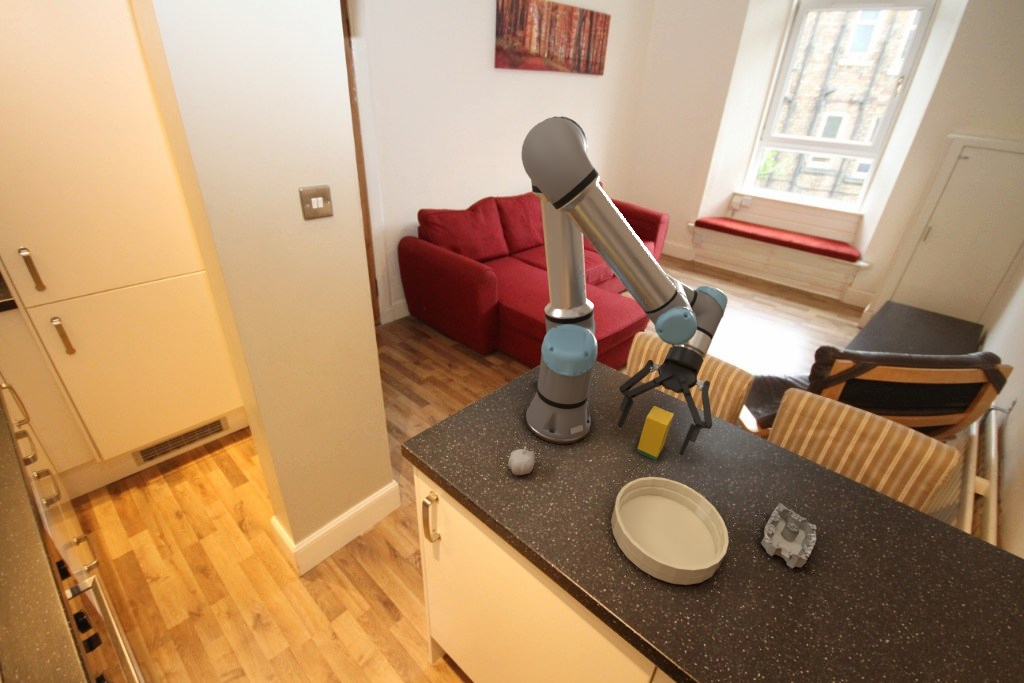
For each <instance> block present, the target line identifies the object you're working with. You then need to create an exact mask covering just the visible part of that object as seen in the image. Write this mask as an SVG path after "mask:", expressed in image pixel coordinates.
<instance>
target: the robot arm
mask: <svg viewBox="0 0 1024 683" xmlns="http://www.w3.org/2000/svg"><path fill="white" fill-rule="evenodd" d="M587 153H588V139H587V137H586V133H585V131H584V130H583V128H582V127H581V125H580V124H579V123H578V122H577V121H575V120H574V119H572V118H569V117H568V116H562V115H561V116H553V117H552V116H551V117H548V118H545V119H544V120H542V121H540V122H538V123H537V124H535V125H533V127H532V128H530V130H529V131H528V132H527V134H526V135H525V138H524V140H523V143H522V146H521V161H522V162H521V163H522V167H523V169H524V170H525V173H526V175H527V176H528V178H529V179H530V183H531V191H532V194H533V195H534V196H535V197H537V198H538V199H539V201H540V210H541V211H540V212H541V221H542V231H543V241H544V242H543V243H544V253H545V262H546V263H545V264H546V272H547V273H546V275H547V285H548V294H549V302H548V303H547V304H546V305H545V306H544V319H545V320H544V321H545V331H546V334H545V335H544V337H543V341H542V344H541V350H540V351H541V356H540V363H539V364H540V366H539V372H538V379H537V381H534V382H533V383H534V386H535V388H536V392H535V394H534V396H533V398H532V399H531V402H530V404H529V405H528V407H527V409H526V412H525V424H526V427H527V428H528V430H529V431H530V432H531V433H532V435H534V436H535V437H536V438H538V439H540V440H542V441H544V442H547V443H551V444H555V445H571V444H576V443H578V442H580V441H583V440H584V439H585V438H586V437H587V436H588V434H589V432H590V430H591V424H592V423H591V422H592V421H591V419H592V418H591V412H590V408H589V407H590V406H589V403H588V402H589V401H588V398H589V393H590V389H591V383H592V378H593V374H594V369H595V364H596V361H597V359H598V341H597V339H596V332H597V326H596V325H597V324H596V321H595V310H594V303H593V302H592V301H591V300H589V299H588V298H587V285H586V284H587V283H586V282H587V281H586V264H585V248H584V237H585V239H586V240H587V241H588V243H589V244H590V245H591V246H592V248H593V249H594V250H595V251H596V253H597V254H598V256H600V258H601V259H602V260H603V261H604V262H605V264H606V265H607V267H608V268H609V269H610V270H611V271H612V273H613V274H614V276H616V278H617V279H618V280H619V282H620V283H621V284H622V286H623V287H624V288H625V289H626V290H627V292H628V293H629V294H630V295H631V297H632V298H633V299H634V301H635V302H636V303H637V304H638V305H639V307H640V308H641V309H642V311H643V312H644V313H645V315H646V317H648V319H649V320H650V321H651V322H652V324H653V325H654V330H655V332H656V334H657V336H658V337H659V339H660V340H661V341H662V342H664V343H666V344H668V345H671V347H669V349H668V351H667V353H666V356H665V358H664V359H663V362H662V363H661V365H659V364H657V363H656V362H654V361H653V359H648V360H647V362H646V363H645V365H644V366H643V368H641V369H640V370H639V371H638V372H636V373H635V374H634V375H632V376H631V377H629V379H628V380H626V381H625V382H624V383H622V384H621V385H620V386H619V388H618V389H619V392H620V394H622V395H623V396H624V397H623V399H622V401H621V404H620V406H619V410H620V412H622V413H621V415H620V417H619V420H618V422H617V426H618V427H619V428H620V429H622V428H623V427H624V425H625V422H626V420H627V418H628V416H629V414H630V412H631V409H632V407H633V405H634V398H636V397H638V396H641V395H642V394H645V393H647V392H650V391H651V390H653V389H655V388H659V387H661V386H662V387H663V388H664V389H665V390H668V391H672V392H674V393H675V394H683V397H684V399H685V402H686V404H687V407H688V409H689V412H690V416H691V417H692V420H693V423H694V424H693V423H690V426H689V428H688V431H687V433H686V436H685V437H684V441H683V443H682V445H681V448H680V450H679V455H681V456H684V454H685V452H686V450H687V448H688V445H689V443H690V442H692V443H695V442H697V439H698V437H699V434H700V431H701V430H702V429H707V430H711V429H712V427H713V418H712V412H711V404H710V395H709V390H710V387H711V382H710V381H709V380H705V381H704V380H700V379H698V375H699V372H700V370H701V369H702V366H703V363H704V358H706V356H707V354H708V351H709V349H710V347H711V345H712V342H713V339H714V337H715V335H716V332H717V331H718V327H719V325H720V323H721V321H722V319H723V317H724V315H725V312H726V309H727V305H728V302H729V301H728V296H727V294H726V293H725V292H723V291H722V290H720V289H719V288H715V287H712V286H709V285H701V286H698V287H696V289H693V288H692V287H690V286H688V285H686V284H684V283H683V282H681V281H679V280H678V279H676V278H674V277H673V276H671V275H669V273H666V272H665V271H664V270H663V269H662V266H660V264H659V263H658V262H657V260H656V259H655V258H654V256H653V255H652V254H651V252H650V251H649V249H648V248H647V247H646V246H645V244H644V243H643V241H642V240H641V239H640V237H639V236H638V235H637V233H636V232H635V231H634V229H633V228H632V227H631V225H630V224H629V222H628V221H627V220H626V218H625V217H624V216H623V214H622V213H621V212H620V211H619V209H618V208H617V207H616V205H615V204H614V203H613V201H612V200H611V198H610V197H609V196H608V195H607V193H606V192H605V191H604V188H602V186H601V185H600V183H599V182H600V173H599V172H598V170H597V169H596V168H595V167H594V164H592V162H591V160H590V158H589V156H588V154H587ZM655 371H657V372H658V376H656V377H653V378H652V380H649V381H647V382H645V383H643V384H640V385H639V386H637V387H635V386H636V385H637V384H638V383H640V382H641V381H642V380H643V379H645V378H646V377H647V376H648V375H649V374H650V373H654V372H655ZM695 386H697V387H698V391H700V392H701V401H702V402H701V403H702V409H703V417H704V418H703V419H704V420H702V418H701V416H700V414H699V411H698V409H697V406H696V403H695V401H694V398H693V396H692V393H691V390H690V389H692V388H693V387H695ZM633 387H634V388H633Z"/></svg>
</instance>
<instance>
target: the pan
mask: <svg viewBox="0 0 1024 683" xmlns="http://www.w3.org/2000/svg"><path fill="white" fill-rule="evenodd" d="M610 524H611V530H612V535H613V537H614V539H615V541H616V544H617V545H618V547H619V549H620V550H621V551H622V553H623V554H624V555H625V557H626V558H627V559H628V560H629V561H630V562H631V563H633V564H634V565H635V566H636V567H637V568H638V569H639V570H641V571H642V572H644V573H646V574H648V575H650V576H651V577H653V578H655V579H658V580H660V581H664V582H666V583H670V584H675V585H682V586H683V585H684V586H687V585H688V586H689V585H693V584H700V583H703V582H704V581H706V580H709V579H710V578H712V577H713V576H714V574H715V573H717V571H718V570H719V568H720V566H721V565H722V562H723V560H724V558H725V556H726V554H727V551H728V548H729V543H730V542H729V541H730V540H729V530H728V528H727V525H726V524H725V521H724V519H723V517H722V516H721V514H720V512H719V510H717V508H716V507H715V506H714V505H713V504H712V503H711V502H710V501H709V499H706V497H704V495H703V494H701V493H699V492H697V491H696V489H693V488H692V487H690V486H687V485H685V484H683V483H681V482H679V481H676V480H673V479H669V478H664V477H656V476H647V477H639V478H637V479H634V480H631V481H629V482H627V483H626V484H625V485H624V486H623V487H622V488H621V489H620V491H619V492H618V494H617V496H616V497H615V502H614V505H613V508H612V513H611V519H610Z"/></svg>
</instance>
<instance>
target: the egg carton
mask: <svg viewBox="0 0 1024 683" xmlns="http://www.w3.org/2000/svg"><path fill="white" fill-rule="evenodd" d="M816 531H817V525H816V524H814V523H810V522H809V521H808V520H807V518H806V517H803V516H801V515H800V514H799V513H798V512H797V513H796V512H795V511H794V510H793V509H788V507H786V506H785V505H784V504H783V503H782V502H779V503H778V504H777V506H776V507H775V508H774V510H773V512H772V513H771V514H770V516H769V518H768V521H767V522H766V524H765V526H764V529H763V534H764V536H763V539H762V540H761V542H760V545H761V546H762V547H763V548H764V550H765V551H766V554H768V555H769V556H770V557H773V556H778V557H781V558H782V559H783V560H784V561H785V562H786V566H788V567H789V568H791V569H794V568H795V567H796V568H803V566H804V565H805V564H806V563H807V560H808V558H809V557H810V556H811V554H812V551H813V549H814V546H815V545H816V542H817V532H816Z"/></svg>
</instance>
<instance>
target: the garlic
mask: <svg viewBox="0 0 1024 683" xmlns="http://www.w3.org/2000/svg"><path fill="white" fill-rule="evenodd" d="M527 447H528V446H527V445H524V446H523V448H519V449H514V450H512V451H511V452H510V456H509V458H508V462H507V465H508V468H509V469H510V470H511V473H512V474H513V475H515V476H523V475H529V474H530V473H531V472H532V471H533V469H534V466H535V464H536V461H535V459H536V455H535V453H534V452H533V451H532V450H531V451H530V450H528V449H527Z"/></svg>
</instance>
